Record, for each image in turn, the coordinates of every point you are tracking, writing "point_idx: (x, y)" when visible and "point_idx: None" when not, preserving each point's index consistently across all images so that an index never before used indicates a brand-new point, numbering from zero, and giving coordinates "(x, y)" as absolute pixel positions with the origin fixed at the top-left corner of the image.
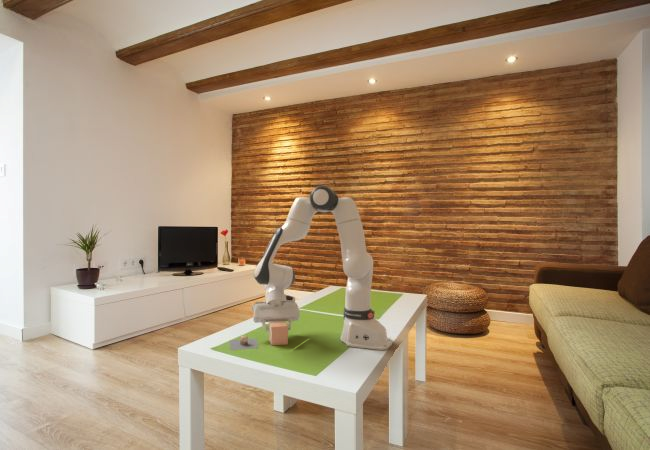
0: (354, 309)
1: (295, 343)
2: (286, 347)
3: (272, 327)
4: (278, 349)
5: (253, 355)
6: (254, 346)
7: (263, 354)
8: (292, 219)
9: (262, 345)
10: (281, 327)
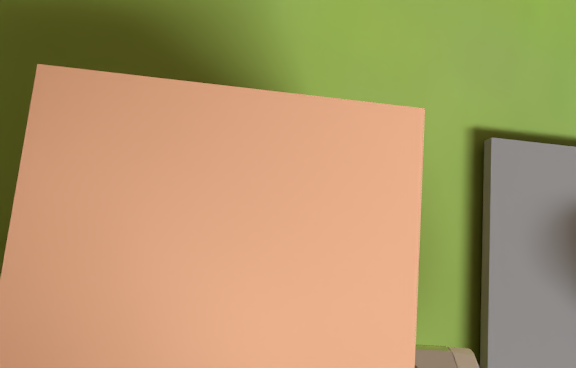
0: None
1: (10, 207)
2: None
3: (406, 110)
4: (272, 82)
5: (545, 12)
6: (531, 194)
7: (449, 3)
8: None
9: (423, 258)
10: (206, 88)
